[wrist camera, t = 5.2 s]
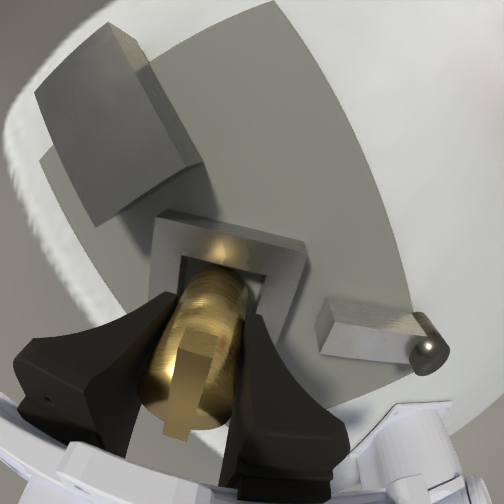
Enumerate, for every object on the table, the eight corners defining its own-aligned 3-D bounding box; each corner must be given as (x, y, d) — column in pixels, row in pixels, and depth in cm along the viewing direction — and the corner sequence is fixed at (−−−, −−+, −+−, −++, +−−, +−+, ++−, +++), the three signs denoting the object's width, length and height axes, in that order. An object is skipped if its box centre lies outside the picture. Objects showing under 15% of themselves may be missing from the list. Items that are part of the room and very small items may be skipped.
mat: (419, 363, 17) (422, 367, 17) (234, 428, 21) (234, 432, 20) (273, 4, 10) (273, 0, 9) (44, 159, 13) (39, 160, 13)
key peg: (234, 336, 15) (214, 448, 8) (181, 320, 15) (135, 424, 8) (261, 259, 13) (254, 369, 6) (199, 240, 13) (138, 333, 6)
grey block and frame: (267, 348, 16) (267, 384, 14) (59, 286, 16) (34, 308, 13) (349, 73, 11) (369, 56, 8) (82, 44, 10) (51, 33, 7)
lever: (416, 344, 15) (435, 376, 13) (312, 328, 15) (320, 367, 12) (433, 314, 15) (456, 344, 12) (327, 292, 14) (339, 328, 11)
